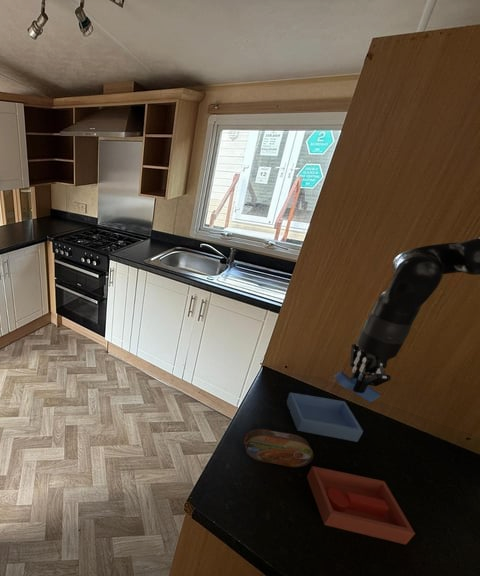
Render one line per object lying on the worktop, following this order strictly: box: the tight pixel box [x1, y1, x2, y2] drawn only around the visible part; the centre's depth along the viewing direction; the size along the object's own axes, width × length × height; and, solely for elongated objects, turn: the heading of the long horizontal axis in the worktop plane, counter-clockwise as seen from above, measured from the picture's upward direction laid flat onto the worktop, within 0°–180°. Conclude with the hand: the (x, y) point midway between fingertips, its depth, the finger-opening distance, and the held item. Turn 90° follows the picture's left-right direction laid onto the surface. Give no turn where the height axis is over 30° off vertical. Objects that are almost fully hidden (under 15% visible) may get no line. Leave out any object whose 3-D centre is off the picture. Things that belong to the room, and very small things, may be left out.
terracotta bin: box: [306, 465, 416, 545], centre depth 68 cm, size 15×11×4 cm
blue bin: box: [286, 392, 364, 443], centre depth 89 cm, size 15×11×4 cm
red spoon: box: [326, 488, 389, 517], centre depth 68 cm, size 11×4×3 cm, turn 76°
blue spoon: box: [333, 371, 382, 403], centre depth 80 cm, size 11×4×3 cm, turn 78°
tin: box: [243, 428, 314, 468], centre depth 77 cm, size 15×3×8 cm, turn 76°
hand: (355, 388), depth 81 cm, fingers closed on blue spoon, 1 cm apart
